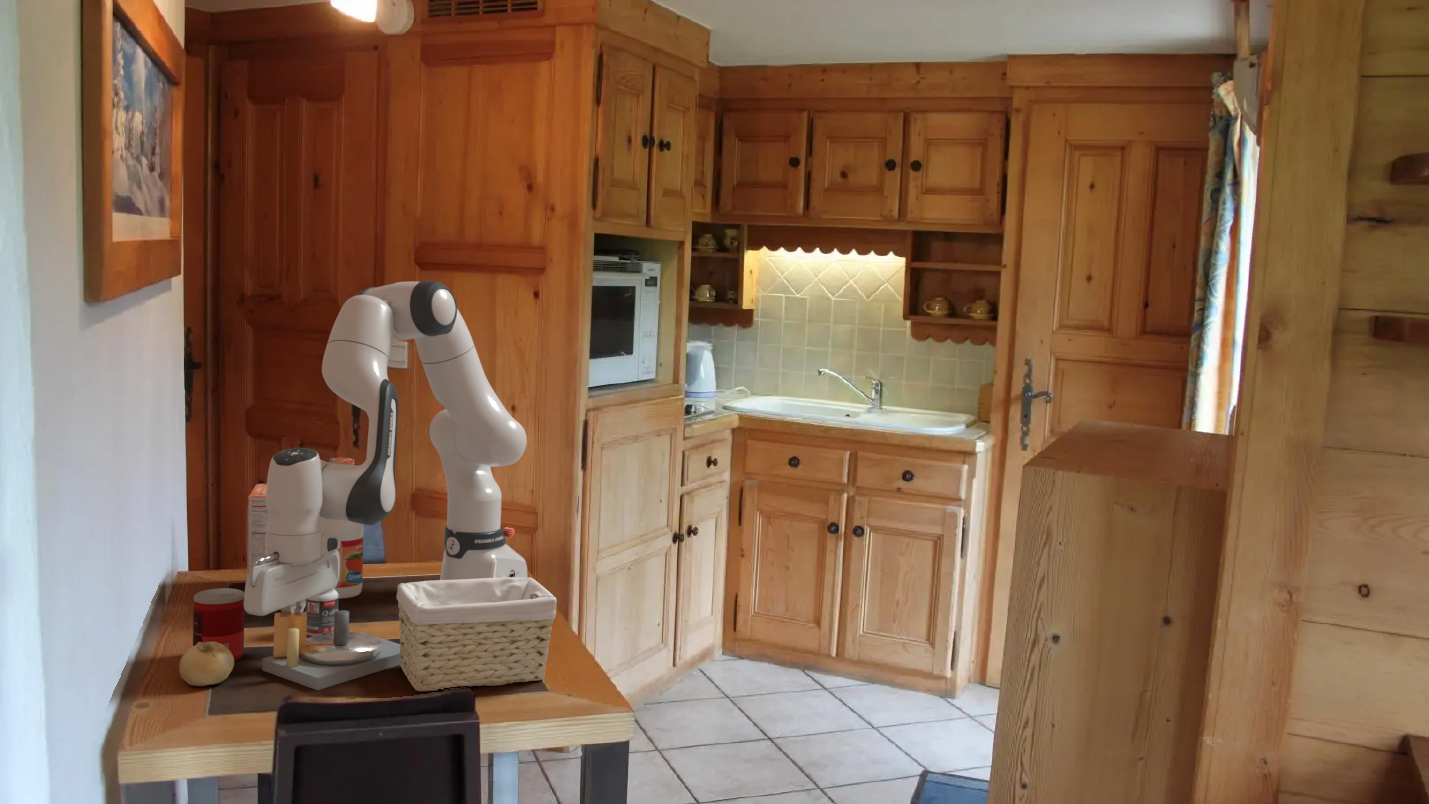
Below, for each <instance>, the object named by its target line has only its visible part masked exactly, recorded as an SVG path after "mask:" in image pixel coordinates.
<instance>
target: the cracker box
mask: <svg viewBox="0 0 1429 804" xmlns="http://www.w3.org/2000/svg"><path fill="white" fill-rule="evenodd" d="M266 488H267V483H258V484H257V483H256V484H255V486H254V488H253V489H252V490H251V492H250V494H249V495H248V497H247V559H246V560H247V561H246V562H247V565H246V567H247V571H246V572H247V573H246V574H247V575H248V573H249V569H250V567H252V565H253V563H254V562H255V560H256V559H257V558H259V557H264V556H265V548H266V525H267V522H268V510H267V507H266ZM256 565H257V564H256Z"/></svg>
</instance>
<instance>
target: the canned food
mask: <svg viewBox="0 0 1429 804" xmlns="http://www.w3.org/2000/svg"><path fill="white" fill-rule="evenodd" d="M244 593H245V591H243V590H241V589H238V588H227V587H225V588H223V587H221V588H219V587H218V588H211V589H206V590H201V591H198V592H196V593H195V594H194V595H193V603H192V604H193V605H192V606H193V609H192V620H193V621H192V647H193V646H195V645H197V642H218V643H220V644H222V645H224V646H226V647H227V648H228V649H229V650H230V651H231V653H232V655H233V658H234V662H235V661H239V659H241V658H242V657H243V654H244V649H245V647H244V646H245V645H244V644H245V612H246V611H245V609H244Z"/></svg>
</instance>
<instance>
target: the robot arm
mask: <svg viewBox="0 0 1429 804" xmlns="http://www.w3.org/2000/svg"><path fill="white" fill-rule="evenodd" d="M413 339H414V342H415V346H416V349H417V354H418V356H419V359H420V361H421V365H422V367H423V370H424V373H425V376H426V378H427V381H428V385H429V386H430V389H431V393H432V394H433V396H434V398H435V399H436V400H437V401H438V402H439V403H440V404H441V405H442V406H443V407H444V408H445V409H442V410H441V411H439V412H437V413H436V415H435V416H434V417H433V418H432V420H431V422H430V425H429V439H430V442H431V443H432V445H433V447H434V448H435V449H436V451H437V454H438V455H439V458H440V461H441V465H442V469H443V473H444V477H445V478H444V479H445V483H446V490H447V505H446V506H447V508H446V509H447V510H446V511H447V513H446V517H447V518H446V526H445V527H444V532H443V533H444V534H443V536H444V537H443V543H444V548H445V549H444V552H443V555H442V556H443V557H442V564H441V569H440V570H441V571H440V576H439V577H440V578H439V580H461V579H480V578H504V577H515V578H528V565H527V561H526V559H525V558H524V557H523V556H522V555H520V554H519V553H517V551H515V550H514V549H513V547H512V548H511V546H509V545H508V544H507V541H506V537H507V538H510V539H511V538H513V537H514V535H515V531H516V530H515V529H514V528H513V527H509V526H506V527H504V528H502V526H501V524H502V523H501V521H502V520H501V519H502V498H503V496H502V490H501V487H500V486H499V484H498V482H496V480H495V478H494V475H493V472H492V468H493V467H496V468H497V467H508V466H511V465H513V464H516V463H517V462H518V461H520V459H521V458H522V457H523V455H524V454H525V451H526V448H527V445H528V444H527V442H528V437H527V433H526V431H525V428H524V427H523V426H522V424H520V423H519V421H517V420H516V419H515V418H514V417H513V416H512V415H511V414H510V413H509V412H508V410H507V409H506V407H505V406H504V405H503V403H502V401H501V400H500V398H499V397H498V395H497V394H496V392H495V390H494V389H493V387H492V386H491V384H490V382H489V380H488V378H487V376H486V374H485V371H484V368H483V366H482V363H481V360H480V357H479V354H478V351H477V349H476V346H475V343H474V340H473V337H472V335H471V332H470V330H469V328H468V326H467V324H466V321H465V320H464V318H463V316H462V314H461V312H460V310H459V309H458V305H457V300H456V298H455V296H454V294H453V292H452V291H451V289H450V288H449V287H448V286H446V285H445V284H444V283H442V282H439V281H436V280H430V279H429V280H427V279H426V280H421V281H411V280H410V281H400V282H399V281H398V282H394V283H391V284H385V285H381V286H379V287H378V286H377V287H376V286H372V287H368V288H365V289H362V290H360V291H359V292H357V293H356V294H355V295H353V296H352V297H350V298H348V299H347V300H346V301H345V302H344V303H343V304H342V306H341V309H340V311H339V312H338V314H337V317H336V319H335V321H334V323H333V326H332V327H331V331H330V333H329V337H328V340H327V344H326V347H325V351H324V354H323V359H322V363H321V364H322V365H321V374H322V378H323V379H324V381H325V384H326V385H327V387H328V388H329V389H330V390H331V392H333V393H334V394H336V395H337V396H338V397H339V398H341V399H342V400H343V401H346V402H347V403H349V404H352V405H354V406H355V407H357V408H359V409H361V410H363V411H364V412H365V413H366V414H367V417H368V432H367V433H368V434H367V446H366V447H367V448H366V458H365V460H364V462H363V463H362V464H359V465H357V464H356V465H355V464H354V465H346V464H335V463H329V462H328V461H325V460H322V459H320V455H319V453H318V451H316V450H315V449H311V448H307V447H294V448H293V447H292V448H287V449H283V450H280V451H278V452H276V453H275V454H274V455H273V456H272V457H271V459H270V463H269V467H268V472H267V478H266V479H267V480H266V484H267V488H266V507H267V510H268V522H267V525H266V548H265V556H264V557H259V558H257V559H256V560H255V562H254V563H253V565H252V567H250V569H249V573H248V575H247V576H246V580H245V587H244V609H245V612H246V613H247V614H249V615H253V616H258V617H264V616H267V615H268V614H272V613H274V612H278V611H279V610H280V612H281V613H293V612H304V611H305V610H304V609H305V605H306V599H307V598H310V597H312V596H315V595H317V594H320V593H322V592H325V591H327V590H330V589H332V588H335V587H336V585H337V583H338V581H339V573H340V556H339V552H338V551H337V549H339V548H340V544H341V540H340V537H337V536H332V535H327V534H322V524H321V521H320V517H323V518H327V519H338V520H347V521H351V522H356V523H361V524H363V525H365V526H374V525H376V524H378V523H379V522H381V521H382V520H384V519H385V518H387V516H388V515H390V513H392V511H393V509H394V507H395V504H396V498H397V497H396V496H397V488H396V487H397V484H396V457H397V440H398V426H399V425H398V423H399V396H398V391H397V387H396V386H395V384H394V383H393V382H392V381H390V380H389V376H388V363H389V360H390V355H391V350H392V346H393V342H400V341H401V342H402V341H409V340H413ZM256 564H257V565H256Z"/></svg>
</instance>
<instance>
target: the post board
mask: <svg viewBox="0 0 1429 804" xmlns="http://www.w3.org/2000/svg"><path fill="white" fill-rule="evenodd" d="M349 627H350V611H349V610H345V609H343V610H341V609H340V610H338V611H335V612H334V639H333V643H334V644H337V645H343V644H347V643H348V639H349V632H350V628H349ZM357 633H365V632H363V631H358V632H357ZM365 634H367V633H365ZM376 637H377V638H379V639H380V640H381V653H380V654H379V655H378V656H377V657H375V658H373V659H371V660H368V661H365V662H360V663H355V664H347V665H323V664H315V663H311V662H308V661H305V660H303V659H302V658H301V657H300V656H299V629H298V628H290V629H288V630H287V657H276V658H273V655H271V656H266V657H263V658H262V662H261V663H262V665H261V666H262V668H261V671H264V672H266V673H269V674H271V675H274V676H277V677H280V678H282V679H285V680H287V681H291V682H294V683H297V684H298V685H302V686H303V687H307V688H310V689H313V690H315V691H321V690H324V689H326V688H329V687H333V686H336V685H340V684H342V683H346V682H349V681H352V680H355V679H358V678H361V677H365V676H368V675H371V674H374V673H378V672H381V671H384V670H387V669H390V668H393V667H397V666H400V643H397V642H394V641H391V640H388V639H385V638H381V637H378V636H376Z"/></svg>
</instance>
